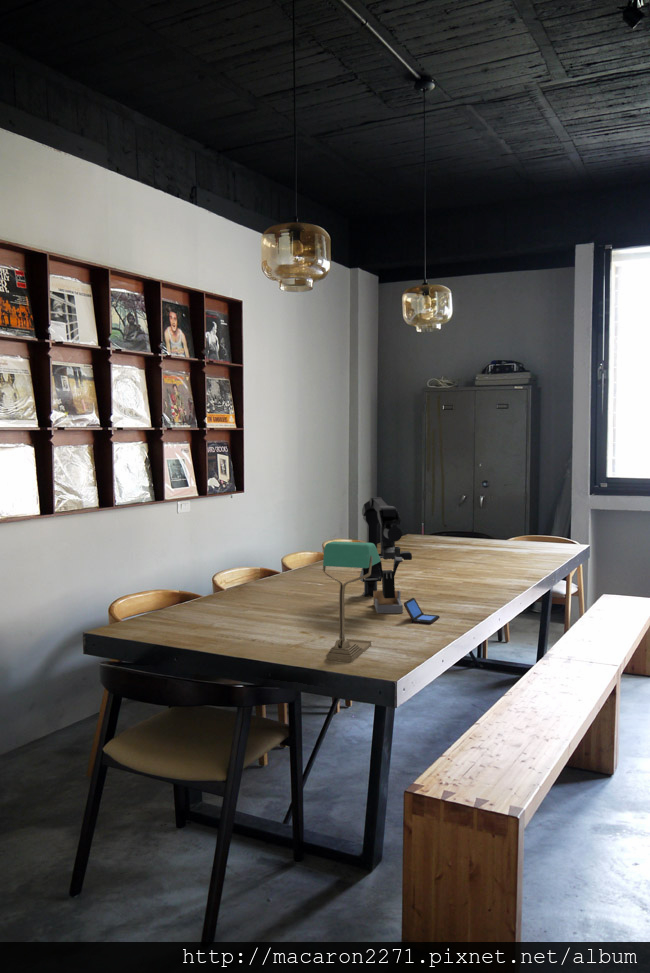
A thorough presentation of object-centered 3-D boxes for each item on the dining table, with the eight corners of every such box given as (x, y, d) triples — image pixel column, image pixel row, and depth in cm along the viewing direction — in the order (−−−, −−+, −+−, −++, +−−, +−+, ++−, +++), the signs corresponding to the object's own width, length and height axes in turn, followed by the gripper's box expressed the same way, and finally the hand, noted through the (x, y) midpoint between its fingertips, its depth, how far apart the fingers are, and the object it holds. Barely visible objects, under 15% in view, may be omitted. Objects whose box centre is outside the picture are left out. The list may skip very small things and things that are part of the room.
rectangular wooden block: (400, 603, 312) (400, 590, 311) (400, 604, 310) (400, 591, 310) (373, 603, 311) (373, 590, 311) (373, 604, 310) (373, 591, 309)
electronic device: (392, 594, 308) (391, 569, 307) (395, 598, 298) (394, 573, 297) (382, 594, 308) (381, 570, 307) (384, 598, 298) (383, 573, 297)
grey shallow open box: (374, 605, 310) (374, 598, 310) (398, 605, 310) (398, 598, 310) (377, 613, 296) (377, 605, 296) (402, 612, 296) (402, 605, 296)
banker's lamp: (315, 658, 234) (314, 546, 232) (338, 641, 254) (337, 538, 252) (363, 663, 229) (362, 548, 227) (383, 645, 248) (382, 539, 246)
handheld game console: (430, 625, 276) (430, 605, 276) (402, 622, 281) (402, 603, 280) (440, 618, 288) (440, 598, 287) (413, 615, 292) (413, 596, 292)
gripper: (365, 541, 294) (365, 581, 294) (413, 540, 294) (413, 580, 295) (363, 537, 305) (364, 576, 306) (410, 537, 305) (410, 575, 306)
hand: (387, 577), depth 303 cm, fingers closed on electronic device, 4 cm apart
